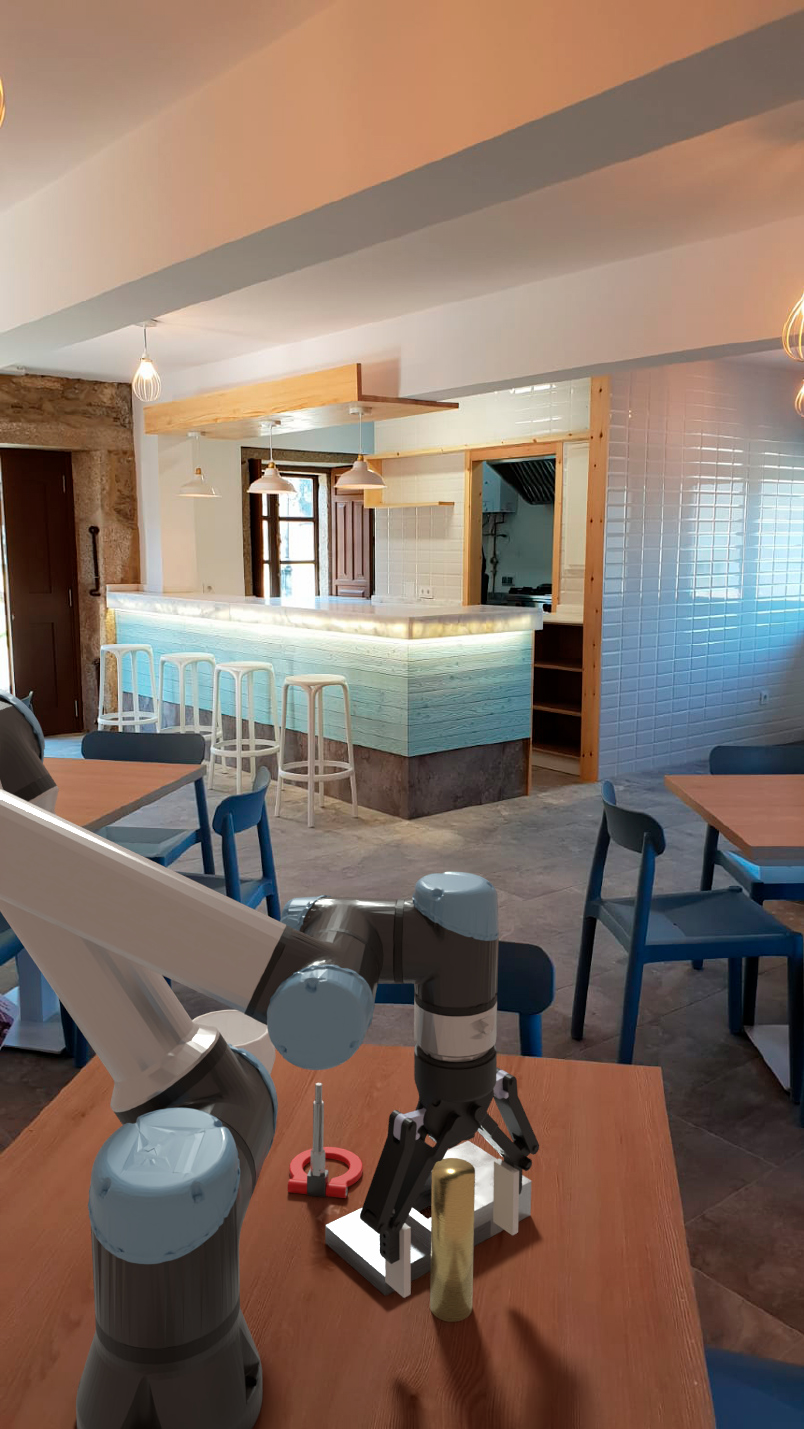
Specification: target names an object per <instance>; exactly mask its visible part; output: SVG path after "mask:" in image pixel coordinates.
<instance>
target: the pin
mask: <svg viewBox="0 0 804 1429" xmlns="http://www.w3.org/2000/svg"><path fill="white" fill-rule="evenodd" d="M474 1199H475V1168H474V1167H473V1165H472V1164H471V1163H469V1162H468V1161H465V1160H463V1159H458V1158H446V1159H442V1160H441V1161H438V1162H436V1164H435V1166H434V1167H433V1169H432V1203H431V1207H430V1208H431V1214H430V1215H431V1217H430V1218H431V1271H430V1281H429V1282H430V1283H429V1284H430V1288H429V1289H430V1290H429V1291H430V1292H429V1296H430V1297H429V1308H430V1311H431V1313H432V1314H433V1315H434V1316H435V1317H436V1318H437V1319H438V1320H441V1321H444V1322H450V1323H454V1322H455V1323H456V1322H459V1321H464V1320H465V1319H467V1318H468V1317H469V1316H470V1315H472V1311H473V1297H474V1296H473V1295H474V1294H473V1290H474V1288H473V1287H474V1248H475V1246H474Z"/></svg>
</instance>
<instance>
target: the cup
mask: <svg viewBox="0 0 804 1429" xmlns="http://www.w3.org/2000/svg"><path fill="white" fill-rule="evenodd" d="M191 1020H192V1021H193V1022H194V1023H195V1024H200V1025H206V1026H213V1027H216V1028H217V1029H218V1031H219V1032H220V1033H221V1035H222V1037H223V1038H224V1040H225V1041H226V1042H227V1043H228V1044H231V1045H232V1046H233V1047H235V1048H238V1049H240V1048H243V1049H245V1050H247V1051H248V1052H250V1053H251V1054H253V1055H254V1056H255V1057H256V1058H257V1059H258V1060H259V1061H260V1062H261V1063H262V1064H263V1065H264V1066H265V1068H266V1069H267V1071H268V1073H269V1074H270V1076H271V1074H272V1071H273V1067H274V1064H275V1061H276V1048H275V1046H274V1045H273V1044H272V1042H271V1040H270V1037H269V1034H268V1029H267V1025H265V1024H263V1023H261V1022H259V1021H257V1020H255V1019H253V1018H251V1017H250V1016H247V1015H245V1014H244V1013H242V1012H240V1011H238V1010H236V1009H223V1010H217V1011H210V1012H207V1013H205V1014H202V1015H199V1016H198V1015H197V1016H196V1017H195V1018H194V1019H191Z"/></svg>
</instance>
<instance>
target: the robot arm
mask: <svg viewBox="0 0 804 1429" xmlns="http://www.w3.org/2000/svg"><path fill="white" fill-rule="evenodd" d="M45 744H46V743H45V737H44V733H43V730H42V727H41V724H40V722H39V721H38V719H37V717H36V716H35V714H34V713H33V712H32V710H31V709H30V708H29V707H28V706H27V705H26V704H25V703H24V702H23V701H22V700H21V699H20V698H18V697H17V696H15V695H14V694H12V693H10V692H8V691H6V690H4V689H2V688H0V913H1V914H2V916H3V917H4V919H5V920H6V922H7V923H8V925H9V926H10V928H11V929H12V930H13V932H14V934H15V935H16V936H17V938H18V940H19V941H20V943H21V944H22V945H23V947H24V949H25V950H26V951H27V953H28V955H29V956H30V957H31V959H32V960H33V962H34V964H36V966H37V968H38V969H39V971H40V972H41V974H42V975H43V977H44V979H45V980H46V981H47V983H48V984H49V986H50V988H51V989H52V990H53V992H54V993H55V995H56V996H57V997H58V999H59V1001H60V1003H62V1005H63V1007H64V1008H65V1009H66V1011H67V1013H68V1014H69V1016H70V1017H71V1018H72V1020H73V1021H74V1023H75V1025H76V1026H77V1027H78V1029H79V1030H80V1032H81V1033H82V1035H83V1036H84V1038H85V1039H86V1041H87V1042H88V1044H89V1045H90V1047H91V1049H92V1050H93V1051H94V1053H95V1054H96V1056H97V1057H98V1058H99V1060H100V1062H101V1063H102V1065H103V1066H104V1067H105V1069H106V1071H107V1072H108V1073H109V1075H110V1076H111V1078H112V1079H113V1083H114V1086H113V1089H112V1093H111V1094H112V1095H111V1099H110V1109H111V1110H112V1111H113V1113H114V1114H115V1116H116V1118H117V1119H118V1120H119V1122H120V1123H121V1126H119V1127H118V1128H117V1129H116V1130H114V1132H113V1133H112V1134H111V1135H110V1136H108V1138H106V1140H105V1141H104V1142H103V1144H102V1145H101V1147H100V1148H99V1150H98V1152H97V1153H96V1155H95V1159H94V1161H93V1164H92V1168H91V1173H90V1174H91V1175H90V1185H89V1190H88V1202H87V1203H88V1204H87V1209H88V1218H89V1221H90V1235H91V1237H90V1238H91V1256H92V1260H91V1261H92V1276H93V1278H92V1280H93V1296H94V1297H93V1299H94V1300H93V1301H94V1316H95V1318H94V1320H95V1322H94V1323H95V1332H94V1335H93V1338H92V1341H91V1344H90V1347H89V1351H88V1353H87V1358H86V1360H85V1364H84V1367H83V1371H82V1373H81V1376H80V1379H79V1383H78V1387H77V1392H76V1398H75V1412H76V1429H253V1427H254V1426H255V1424H256V1422H257V1420H258V1418H259V1415H260V1412H261V1408H262V1405H263V1404H262V1403H263V1367H262V1363H261V1358H260V1353H259V1351H258V1349H257V1347H256V1344H255V1341H254V1338H253V1336H252V1334H251V1331H250V1329H249V1326H248V1323H247V1321H246V1319H245V1316H244V1314H243V1311H242V1309H241V1297H240V1296H241V1293H240V1291H241V1290H240V1289H241V1284H240V1281H241V1280H240V1279H241V1278H240V1277H241V1276H240V1274H241V1273H240V1271H241V1270H240V1239H241V1232H242V1227H243V1222H244V1220H245V1217H246V1214H247V1211H248V1207H249V1205H250V1202H251V1199H252V1196H253V1194H254V1192H255V1189H256V1186H257V1184H258V1183H257V1182H258V1180H259V1178H260V1174H261V1173H262V1172H261V1171H262V1169H263V1166H264V1163H265V1160H266V1158H267V1156H268V1154H269V1152H270V1151H271V1148H272V1146H273V1142H274V1137H275V1134H276V1129H277V1123H278V1122H277V1121H278V1120H277V1119H278V1113H279V1112H278V1110H279V1109H278V1108H279V1105H278V1104H279V1101H278V1095H277V1094H278V1093H277V1090H276V1087H275V1082H274V1080H273V1078H272V1077H271V1075H270V1074H269V1073H268V1071H267V1069H266V1068H265V1066H264V1065H263V1064H262V1063H261V1062H260V1061H259V1060H258V1059H257V1058H256V1057H255V1056H254V1055H253V1054H251V1053H250V1052H248V1051H247V1050H245V1049H243V1048H240V1049H238V1048H235V1047H233V1046H232V1045H231V1044H228V1043H227V1042H226V1041H225V1040H224V1038H223V1037H222V1035H221V1033H220V1032H219V1031H218V1029H217V1028H216V1027H213V1026H206V1025H200V1024H195V1023H194V1022H193V1021H192V1020H193V1019H192V1018H191V1017H190V1015H189V1014H188V1012H187V1011H186V1009H185V1007H184V1006H183V1004H182V1003H181V1002H180V1000H179V999H178V997H177V996H176V994H175V993H174V991H173V990H172V988H171V986H170V984H168V982H167V980H166V979H165V978H168V979H170V980H172V981H173V982H176V983H178V984H181V985H182V986H185V987H187V988H189V989H191V990H193V991H195V992H197V993H200V994H201V995H204V996H206V997H208V998H211V999H212V1000H215V1001H217V1002H219V1003H221V1004H222V1005H225V1006H228V1007H229V1008H232V1010H238V1011H240V1012H242V1013H244V1014H245V1015H247V1016H250V1017H251V1018H253V1019H255V1020H257V1021H259V1022H261V1023H263V1024H265V1025H267V1029H268V1034H269V1037H270V1040H271V1042H272V1044H273V1045H274V1046H275V1050H276V1051H277V1052H278V1053H279V1054H280V1055H281V1056H282V1058H283V1059H284V1061H287V1062H288V1063H290V1064H292V1065H293V1066H296V1067H298V1068H301V1069H303V1070H309V1071H322V1070H323V1071H325V1070H329V1069H334V1068H335V1067H338V1066H340V1065H342V1064H344V1063H345V1062H347V1061H348V1060H350V1058H352V1057H353V1056H354V1055H355V1053H356V1052H357V1051H358V1050H359V1048H360V1047H361V1046H362V1044H363V1042H364V1039H365V1036H366V1034H367V1031H368V1029H369V1028H370V1026H371V1024H372V1021H373V1018H374V1016H373V1015H374V1010H375V1008H376V1007H375V1006H376V1005H375V1000H376V993H377V988H378V985H379V984H390V985H391V984H393V985H394V984H396V985H399V984H400V985H404V984H413V985H414V997H413V998H414V1001H413V1002H414V1005H413V1009H414V1010H413V1014H414V1015H413V1016H414V1017H413V1040H414V1042H415V1046H414V1050H413V1051H414V1052H413V1053H414V1054H413V1056H414V1058H413V1060H414V1061H413V1063H414V1064H413V1065H414V1066H413V1068H414V1069H413V1070H414V1071H413V1074H414V1075H413V1080H414V1084H415V1087H416V1089H417V1094H418V1101H417V1105H416V1107H415V1110H413V1111H409V1112H406V1113H402V1112H400V1111H399V1110H397V1109H395V1110H393V1111H391V1112H390V1114H389V1118H388V1124H387V1126H388V1127H387V1137H386V1139H385V1143H384V1145H383V1148H382V1151H381V1154H380V1156H379V1159H378V1162H377V1164H376V1168H375V1171H374V1174H373V1176H372V1178H371V1182H370V1185H369V1188H368V1191H367V1194H366V1197H365V1199H364V1201H363V1205H362V1207H361V1208H362V1210H361V1213H360V1219H361V1220H362V1221H363V1222H364V1223H366V1224H367V1225H368V1226H369V1227H371V1228H372V1229H373V1230H374V1231H375V1232H377V1233H378V1234H379V1241H380V1254H381V1256H382V1257H383V1258H384V1259H385V1282H386V1283H387V1284H388V1285H390V1286H391V1287H392V1288H393V1289H394V1290H395V1291H394V1292H397V1294H399V1295H400V1296H401V1297H402V1298H404V1299H406V1297H409V1296H411V1295H412V1294H411V1291H412V1290H411V1288H412V1286H411V1285H412V1283H411V1282H412V1281H411V1227H409V1226H408V1225H407V1224H405V1221H406V1219H407V1217H408V1215H409V1213H410V1212H411V1210H412V1208H413V1206H414V1204H415V1202H416V1200H417V1198H418V1196H419V1194H420V1192H421V1190H422V1189H423V1187H424V1185H425V1183H426V1181H427V1179H428V1177H429V1175H430V1173H431V1171H432V1169H433V1167H434V1166H435V1164H436V1162H438V1161H441V1160H442V1159H443V1158H444V1156H445V1154H446V1152H447V1150H449V1149H451V1148H453V1147H455V1146H458V1145H460V1144H461V1143H462V1142H466V1141H469V1140H472V1139H474V1138H475V1135H476V1133H477V1132H478V1133H479V1134H480V1135H481V1136H482V1137H483V1139H484V1140H485V1141H486V1143H488V1144H489V1145H490V1146H491V1147H492V1148H493V1149H494V1150H495V1151H496V1152H497V1153H498V1155H500V1156H501V1157H503V1159H502V1158H500V1157H499V1158H496V1159H497V1160H495V1161H494V1195H493V1222H494V1223H495V1224H497V1225H498V1226H500V1227H501V1228H503V1229H504V1230H503V1231H506V1233H508V1234H510V1235H511V1236H515V1235H517V1233H519V1222H518V1209H519V1194H521V1190H522V1175H523V1171H525V1172H528V1171H530V1170H531V1168H532V1166H533V1165H532V1164H533V1161H532V1159H531V1158H530V1157H528V1156H529V1155H530V1154H531V1155H536V1154H537V1153H538V1151H539V1150H540V1143H539V1142H538V1139H537V1137H536V1134H535V1132H534V1130H533V1127H532V1125H531V1123H530V1120H529V1118H528V1116H527V1113H526V1111H525V1109H524V1107H523V1105H522V1103H521V1100H520V1098H519V1092H518V1080H517V1077H516V1076H515V1075H512V1074H511V1073H509V1072H507V1071H505V1070H503V1069H501V1068H499V1067H498V1066H497V1065H498V1064H497V1062H498V1060H497V1057H498V1056H497V1054H498V1050H497V1046H496V1045H495V1044H496V1043H497V1038H498V1036H497V1034H498V1033H497V1032H498V1027H497V1026H498V1025H497V1024H498V979H499V978H498V976H499V975H498V974H499V971H498V970H499V939H500V932H499V931H500V930H499V929H500V928H499V907H498V906H499V905H498V902H499V901H498V892H497V890H496V888H495V886H494V884H493V883H492V882H491V881H489V880H488V879H486V878H485V877H483V876H480V875H478V874H475V873H471V872H464V871H463V872H462V871H445V872H443V873H441V872H440V873H438V872H437V873H429V874H427V875H424V876H422V877H421V878H419V879H418V880H417V881H416V882H415V885H414V892H412V893H413V894H412V897H405V898H385V897H384V898H382V897H381V898H379V897H378V898H377V897H350V896H349V897H348V896H346V897H345V896H331V895H328V894H327V895H326V894H322V895H317V896H303V897H293V898H291V899H290V900H288V901H287V902H286V903H285V905H284V906H283V908H282V910H281V913H280V914H281V915H280V920H277V919H275V918H272V917H270V916H269V915H267V914H265V913H262V912H260V911H258V910H256V909H254V908H252V907H250V906H247V905H246V904H243V903H241V902H239V901H237V900H235V899H233V898H231V897H229V896H226V895H225V894H222V893H221V892H218V891H216V890H214V889H212V888H210V887H207V886H206V885H204V884H202V883H200V882H197V881H196V880H193V879H191V878H190V877H187V876H184V875H183V874H181V873H178V872H177V871H174V870H173V869H170V868H168V867H165V866H164V865H161V864H160V863H157V862H155V861H153V860H151V859H150V858H147V857H145V856H142V855H141V854H139V853H136V852H134V851H132V850H130V849H128V848H126V847H124V846H122V845H119V844H117V843H116V842H113V841H112V840H109V839H107V838H105V837H103V836H100V835H98V834H97V833H94V832H93V831H90V830H88V829H86V828H85V827H83V826H79V825H77V824H75V823H74V822H72V821H70V820H67V819H65V818H64V817H61V816H59V815H57V814H56V811H55V808H56V805H57V804H56V803H57V799H58V796H59V795H58V794H59V791H60V790H59V789H60V788H59V786H58V785H57V783H56V782H55V780H54V778H53V777H52V775H51V774H50V772H49V770H48V769H47V768H46V766H45V765H44V758H45V756H44V755H45V749H46V745H45ZM164 977H165V978H164ZM493 1100H494V1102H495V1104H496V1107H497V1109H498V1111H499V1114H500V1115H501V1117H502V1120H503V1122H504V1125H505V1126H506V1128H507V1131H508V1134H509V1136H510V1137H509V1136H507V1135H506V1133H505V1132H504V1131H503V1130H502V1129H501V1128H500V1127H499V1123H497V1122H496V1121H495V1120H494V1118H492V1116H491V1115H490V1114H489V1113H488V1109H490V1105H491V1104H492V1101H493ZM427 1136H428V1137H429V1139H430V1140H432V1141H433V1142H434V1143H435V1145H434V1146H431V1145H430V1144H428V1143H427V1142H426V1138H427ZM393 1209H394V1210H395V1214H394V1213H393Z"/></svg>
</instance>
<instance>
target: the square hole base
mask: <svg viewBox="0 0 804 1429" xmlns="http://www.w3.org/2000/svg"><path fill="white" fill-rule="evenodd" d="M446 1158H458V1159H463V1160H465V1161H468V1162H469V1163H471V1164H472V1165H473V1167H474V1168H475V1199H474V1247H476V1246H477V1245H480V1244H482V1243H483V1242H484V1241H487V1240H488V1239H490V1238H492V1237H494V1236H495V1235H497V1234H500V1233H501V1232H502V1231H503V1232H504V1231H505V1230H504V1229H503V1228H501V1227H500V1226H498V1225H497V1224H495V1223H494V1222H493V1195H494V1161H495V1160H497V1159H498V1158H496V1157H495V1156H494V1155H491V1154H490V1153H488V1152H487V1151H485V1150H484V1149H482V1148H481V1147H479V1146H478V1145H476V1144H475V1143H473V1142H471V1141H469V1140H465V1141H463V1142H461V1143H459V1144H458V1145H456V1146H455V1147H453V1148H451V1149H449V1148H448V1150H447V1152H446V1154H445V1156H444V1158H443V1159H446ZM431 1203H432V1171H431V1173H430V1175H429V1177H428V1179H427V1181H426V1183H425V1185H424V1187H423V1189H422V1190H421V1192H420V1194H419V1196H418V1198H417V1200H416V1202H415V1204H414V1206H413V1208H412V1210H411V1212H410V1213H409V1215H408V1217H407V1219H406V1221H405V1224H407V1225H408V1226H409V1227H411V1282H413V1281H415V1280H417V1279H419V1278H420V1277H422V1276H424V1275H425V1274H427V1273H430V1272H431V1217H429V1218H427V1217H425V1215H423V1214H421V1213H420V1212H421V1211H422V1210H424V1209H426V1208H428V1207H430V1206H431ZM531 1203H532V1180H531V1179H530V1178H528V1177H527V1176H525V1175H523V1174H522V1190H521V1194H519V1209H518V1223H519V1222H521V1221H522V1220H524V1219H526V1218H528V1217H530V1216H531V1215H532V1214H531V1211H532V1210H531V1209H532V1208H531V1207H532V1204H531ZM361 1210H362V1207H361V1208H359V1209H357V1210H355V1211H352V1212H350V1213H348V1214H346V1215H344V1216H341V1217H339V1218H338V1219H336V1220H333V1221H331V1222H329V1223H327V1224H325V1227H324V1228H325V1229H324V1230H325V1231H324V1232H325V1238H324V1239H325V1245H327V1246H328V1247H329V1248H331V1250H332V1251H334V1252H335V1253H336V1254H337V1255H338V1256H339V1257H340V1258H342V1259H343V1260H344V1262H346V1263H347V1264H348V1265H350V1266H351V1267H352V1269H354V1270H355V1271H357V1272H358V1274H360V1275H361V1276H362V1277H363V1278H364V1279H365V1280H367V1281H368V1282H369V1283H370V1284H371V1285H372V1286H373V1287H374V1288H376V1289H377V1291H379V1292H380V1293H381V1294H383V1295H384V1296H385V1297H386V1296H388V1295H390V1294H392V1293H393V1292H396V1291H395V1290H394V1289H393V1288H392V1287H391V1286H390V1285H388V1284H387V1283H386V1282H385V1259H384V1258H383V1257H382V1256H381V1254H380V1241H379V1234H378V1233H377V1232H375V1231H374V1230H373V1229H372V1228H371V1227H369V1226H368V1225H367V1224H366V1223H364V1222H363V1221H362V1220H361V1219H360V1213H361ZM393 1213H394V1214H395V1210H394V1209H393Z"/></svg>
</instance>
